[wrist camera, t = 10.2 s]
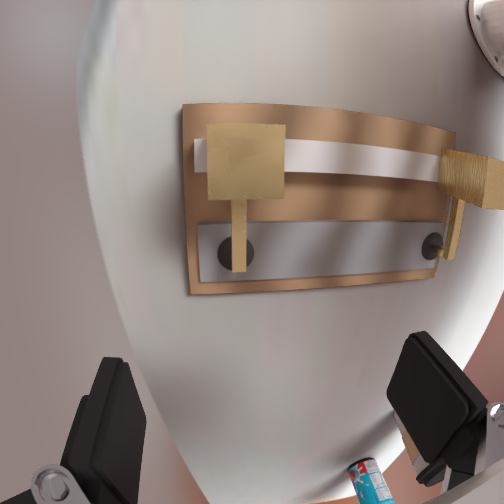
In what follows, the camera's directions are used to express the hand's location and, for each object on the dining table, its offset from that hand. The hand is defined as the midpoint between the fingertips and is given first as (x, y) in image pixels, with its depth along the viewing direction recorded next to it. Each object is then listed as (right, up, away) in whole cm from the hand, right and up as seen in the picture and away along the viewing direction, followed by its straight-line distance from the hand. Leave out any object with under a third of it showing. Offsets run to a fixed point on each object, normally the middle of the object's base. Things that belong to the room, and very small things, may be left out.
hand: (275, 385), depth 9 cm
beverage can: (+21, -38, +38) cm, 58 cm away
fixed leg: (+18, +9, +16) cm, 26 cm away
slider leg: (-2, +8, +14) cm, 16 cm away
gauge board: (+7, +9, +17) cm, 20 cm away
